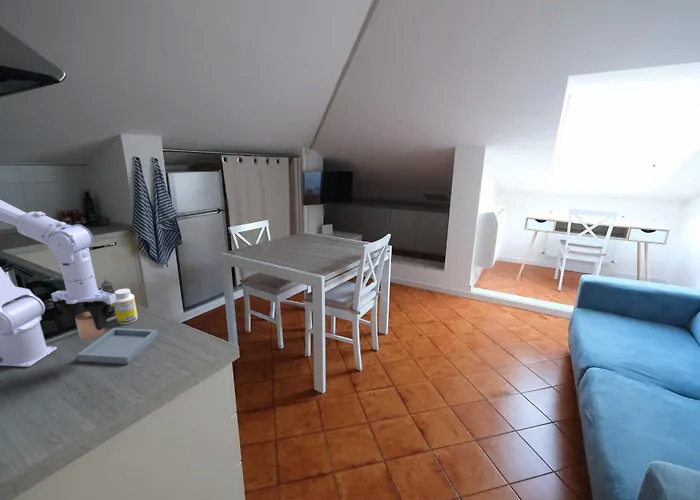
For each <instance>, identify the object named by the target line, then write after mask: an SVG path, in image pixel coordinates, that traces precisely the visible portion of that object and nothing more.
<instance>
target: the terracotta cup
mask: <svg viewBox="0 0 700 500" xmlns="http://www.w3.org/2000/svg"><path fill="white" fill-rule="evenodd" d="M83 312H84V311H83ZM75 320H76V324H77V328H78V329H77V333H78V336H79V338H80V339H82V340H91V339H94V338H97V337H99V336H102V334H104V333H105V327H104V328H103V329H101V330H97V328H96V326H95V322H94V319H93V317H92V315H91V314H90V312H89V311H88V310H87V311H85V312H84V313H82V314H79V315H78V316H76V317H75Z"/></svg>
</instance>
